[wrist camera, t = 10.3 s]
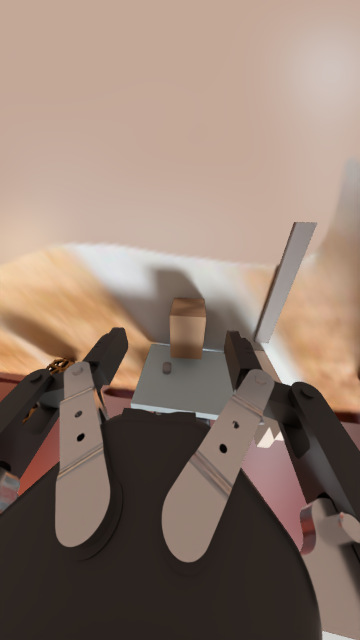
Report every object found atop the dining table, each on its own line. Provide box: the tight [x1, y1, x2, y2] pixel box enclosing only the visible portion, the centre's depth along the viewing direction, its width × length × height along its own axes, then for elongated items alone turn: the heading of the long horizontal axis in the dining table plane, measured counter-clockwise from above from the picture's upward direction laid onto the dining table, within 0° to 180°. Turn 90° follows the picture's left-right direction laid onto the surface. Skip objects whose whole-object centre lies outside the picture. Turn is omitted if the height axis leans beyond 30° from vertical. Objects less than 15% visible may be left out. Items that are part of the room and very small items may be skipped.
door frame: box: [254, 222, 317, 448], centre depth 22 cm, size 3×32×14 cm, turn 179°
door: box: [131, 344, 265, 425], centre depth 26 cm, size 3×18×12 cm, turn 84°
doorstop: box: [170, 298, 206, 360], centre depth 26 cm, size 5×8×6 cm, turn 179°
